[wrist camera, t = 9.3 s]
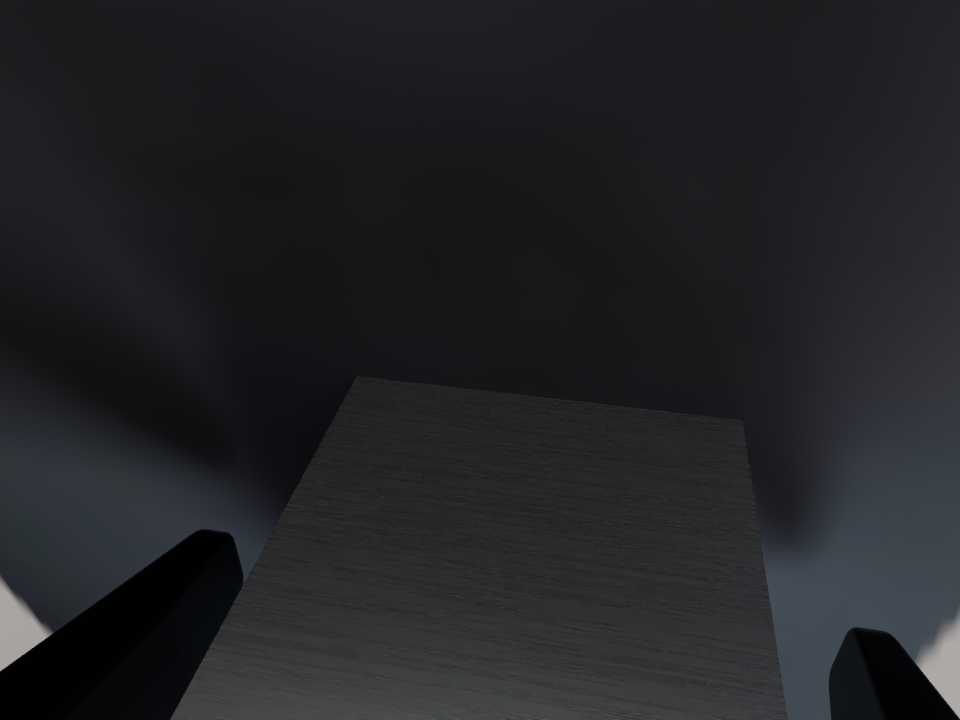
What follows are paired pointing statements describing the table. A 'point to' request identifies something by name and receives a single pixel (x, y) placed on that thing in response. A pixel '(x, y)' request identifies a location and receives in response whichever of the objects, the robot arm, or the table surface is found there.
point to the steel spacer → (504, 570)
